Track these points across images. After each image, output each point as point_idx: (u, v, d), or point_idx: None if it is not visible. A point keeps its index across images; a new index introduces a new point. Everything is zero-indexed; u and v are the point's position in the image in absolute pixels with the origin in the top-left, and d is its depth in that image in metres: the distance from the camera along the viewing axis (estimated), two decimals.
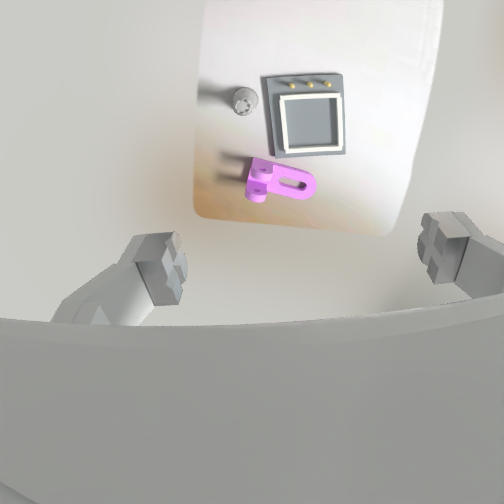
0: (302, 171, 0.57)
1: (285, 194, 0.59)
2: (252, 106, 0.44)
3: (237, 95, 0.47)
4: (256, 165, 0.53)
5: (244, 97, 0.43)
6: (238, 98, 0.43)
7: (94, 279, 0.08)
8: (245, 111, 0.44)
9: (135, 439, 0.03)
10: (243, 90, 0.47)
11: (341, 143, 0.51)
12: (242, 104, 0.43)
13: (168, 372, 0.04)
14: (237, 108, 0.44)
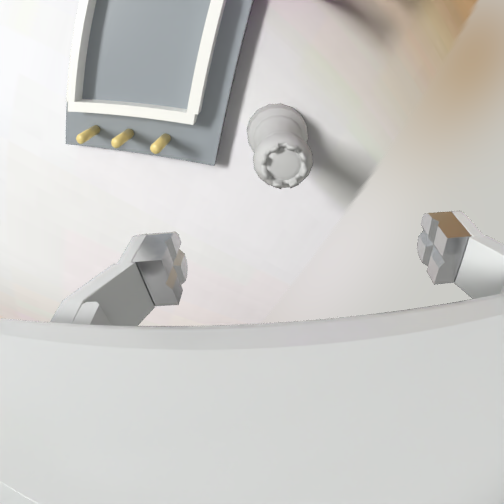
0: None
1: None
2: (258, 151, 0.16)
3: None
4: None
5: (268, 183, 0.17)
6: (286, 186, 0.17)
7: (94, 279, 0.08)
8: (282, 148, 0.15)
9: (135, 438, 0.03)
10: None
11: None
12: (280, 170, 0.16)
13: (168, 372, 0.04)
14: (300, 164, 0.16)
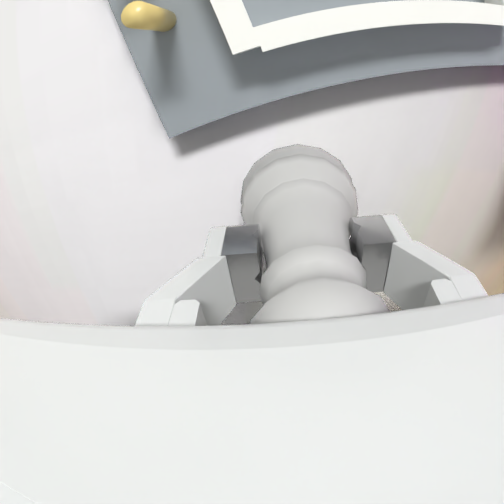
0: None
1: None
2: (322, 298, 0.06)
3: None
4: None
5: None
6: None
7: (179, 274, 0.08)
8: None
9: (135, 438, 0.03)
10: None
11: None
12: None
13: (168, 372, 0.04)
14: None
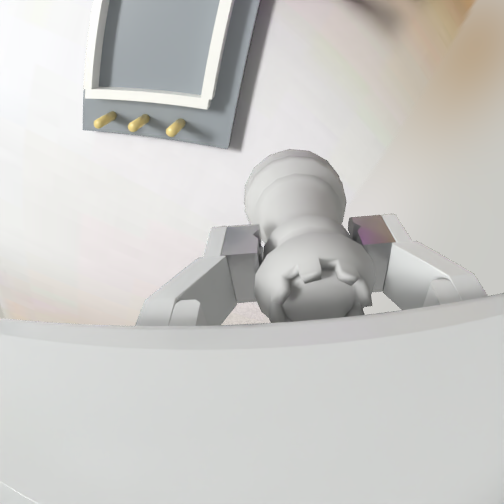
0: None
1: None
2: (311, 244, 0.07)
3: None
4: None
5: (259, 295, 0.08)
6: None
7: (180, 274, 0.08)
8: None
9: (135, 439, 0.03)
10: None
11: None
12: (304, 306, 0.07)
13: (168, 372, 0.04)
14: None
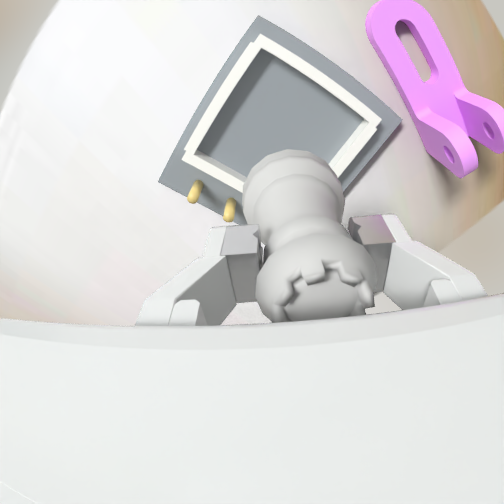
0: (380, 52, 0.17)
1: (444, 48, 0.16)
2: (313, 245, 0.07)
3: None
4: (448, 164, 0.19)
5: (261, 297, 0.08)
6: None
7: (179, 274, 0.08)
8: None
9: (134, 438, 0.03)
10: None
11: (250, 50, 0.17)
12: (307, 308, 0.07)
13: (168, 372, 0.04)
14: None
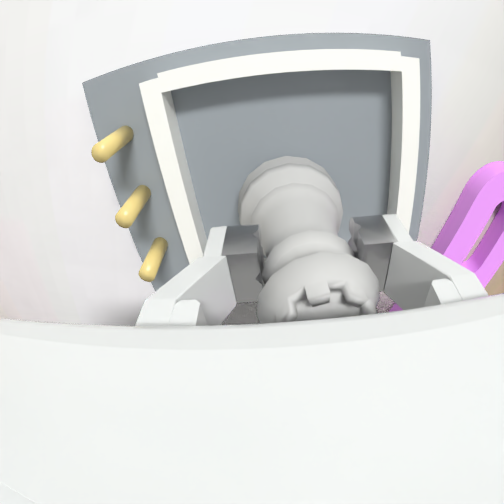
0: (464, 206, 0.14)
1: (503, 256, 0.15)
2: (318, 265, 0.07)
3: None
4: None
5: (263, 315, 0.08)
6: None
7: (180, 274, 0.08)
8: None
9: (135, 438, 0.03)
10: None
11: (388, 58, 0.09)
12: None
13: (168, 372, 0.04)
14: None
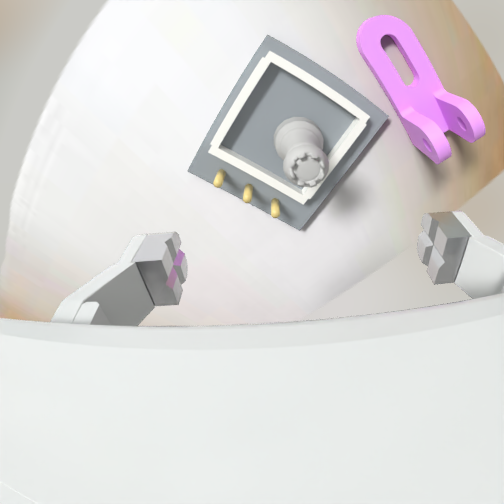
0: (368, 63, 0.22)
1: (424, 56, 0.20)
2: (288, 157, 0.21)
3: None
4: (428, 153, 0.23)
5: (293, 182, 0.22)
6: (306, 185, 0.22)
7: (94, 279, 0.08)
8: (307, 156, 0.20)
9: (135, 439, 0.03)
10: None
11: (262, 64, 0.22)
12: (304, 173, 0.21)
13: (168, 372, 0.04)
14: (319, 170, 0.21)
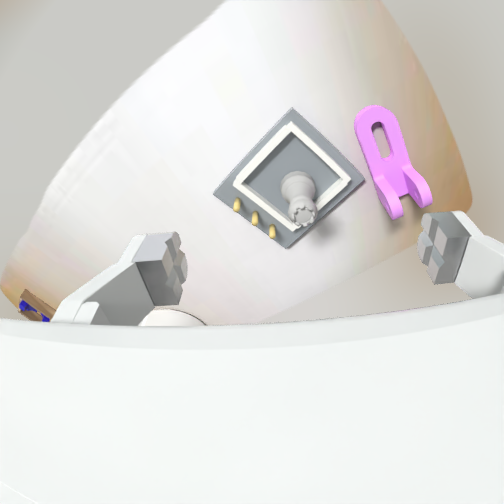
0: (359, 140, 0.35)
1: (401, 139, 0.34)
2: (293, 206, 0.32)
3: None
4: (387, 210, 0.37)
5: (292, 221, 0.34)
6: None
7: (94, 279, 0.08)
8: (305, 207, 0.32)
9: (135, 439, 0.03)
10: None
11: (284, 131, 0.33)
12: (301, 218, 0.33)
13: (168, 372, 0.04)
14: (311, 217, 0.33)
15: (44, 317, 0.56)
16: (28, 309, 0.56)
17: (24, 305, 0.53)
